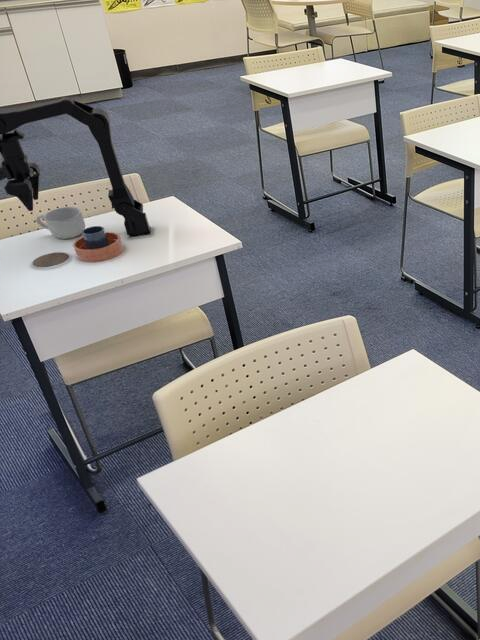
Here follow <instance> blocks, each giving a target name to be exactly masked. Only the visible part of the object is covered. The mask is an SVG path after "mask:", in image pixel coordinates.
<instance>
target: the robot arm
mask: <svg viewBox="0 0 480 640" xmlns="http://www.w3.org/2000/svg"><path fill="white" fill-rule="evenodd" d="M63 115H67V116H70V117H72V118H73V119H75V120H76V121H78V122H79V123H81V124H83V125H85V126H87V127H88V129H89V131H90V133H91V135H92V136H93V138H94V140H95V141H96V143H97V145H98V147H99V151H100V154H101V157H102V161H103V164H104V166H105V169H106V172H107V176H108V179H109V182H110V185H111V188H112V189H108V195H107V197H108V199H109V202H110V203H111V209H112V210H113V209H114V212H115V213H116V214H118V216H122V217H123V218H124V221H123V225H124V228H125V231H126V234H127V235H128V238H135V237H144V236H149V235H151V232H152V228H151V226H150V223H149V220H148V217H147V214H146V212H144V203H141V202H139V201H138V200H137V199H135V198H134V196H133V194H132V193H131V190H130V189H129V187H128V185H127V184H126V182H125V179H124V176H123V173H122V169H121V167H120V162H119V160H118V156H117V153H116V150H115V147H114V144H113V141H112V130H111V128H112V127H111V120H110V116H109V114H108V112H107V111H105V110H104V109H103V108H99V107H92V106H90V105H89V104H86V103H83V102H81V101H77V100H75V99H73V98H71V97H69V96H63V97H61V98H58V99H54V100H50V101H46V102H42V103H38V104H32V105H29V106H25V107H18V108H13V107H4V108H3V107H1V108H0V135H1V136H0V156H1V158H2V161H1V164H0V182H1V181H4V180H5V179H7V180H8V181H7V182H6V184H5V186H4V187H3V188H4V190H5V193H6V195H10V196H14V197H16V198H17V199H18V200H19V201H20V202H21V203H22V205H23V206H24V207H25V208H26V210H27V211H29V212H33V211H34V201H38V200H39V194H40V193H39V191H40V178H41V169H40V167H39V165H38V164H37V163H36V162H35V163H34V162H28V159H29V157H28V154H25V152H24V150H23V147H22V145H21V142H20V140H23V139H24V138H25V137H26V134H25V133H24V132H22V131H20V130H18V128H19V127H21V126H23V125H26V124H30V123H34V122H37V121H42V120H46V119H47V120H48V119H50V118H55V117H59V116H63Z"/></svg>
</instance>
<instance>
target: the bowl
mask: <svg viewBox="0 0 480 640" xmlns="http://www.w3.org/2000/svg"><path fill="white" fill-rule="evenodd" d="M105 232H106V235H107V238H108V241H109V244H110V245H109V246H106V247H103V248H99V249H93V250H88V248H87V246H86V243H85V240H84V237H83V236H81V237H80V238H78V239H76V240H75V241H73V244H72V248H73V250H74V253H75V255H76V258H77V259H78V260H79V261H81V262H84V263H96V262H104V261H107V260H111V259H114V258H117V257H118V256H120V255H121V254H122V253H123V252H124V249H125V247H124V244H123V241H122V238H121V236H120V234H118V233H117V232H112V231H105Z"/></svg>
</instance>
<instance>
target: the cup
mask: <svg viewBox="0 0 480 640" xmlns="http://www.w3.org/2000/svg"><path fill="white" fill-rule="evenodd" d="M106 232H107V231H106V230H105V227H104V226H101V225H99V226H98V225H92V226H89V227H85V229H84V230H83V231H82V234H81V235H82V237H84V240H85V243H86V246H87V248H88V250H93V249H99V248H103V247H106V246H109V245H110V244H109V241H108V238H107V235H106Z"/></svg>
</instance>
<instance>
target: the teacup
mask: <svg viewBox="0 0 480 640" xmlns="http://www.w3.org/2000/svg"><path fill="white" fill-rule="evenodd" d="M41 219H43V220H44V221H45V223H43V222H42V221H41ZM35 221H36V224H38V225H39V226H40V227H41V228H43V229H46V230H48V231H49V232H50V233H51V235H52V236H54V237H55V238H57V239H61V240H67V239H68V240H69V239H73V238H76V237H79V236H80V235H82V231H83V230H84V229H86V223H85V219H84V217H83V213H82V209H80V208H79V207H77V206H61V207H56V208H54V209H51V210H49V211H48V212H46V213H45V214H42V213H41V214H38V215H37V216H36V217H35Z"/></svg>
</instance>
